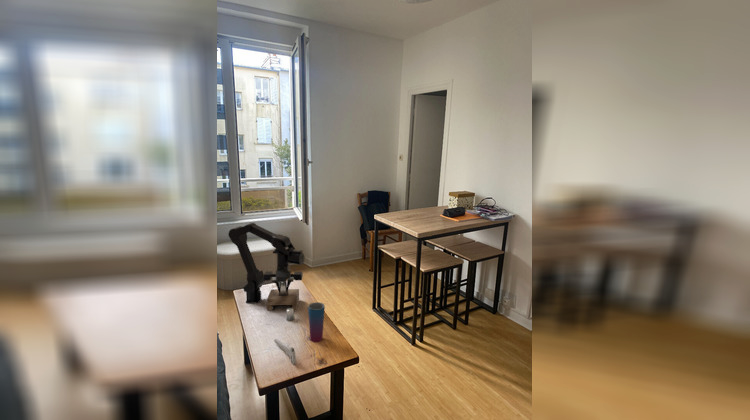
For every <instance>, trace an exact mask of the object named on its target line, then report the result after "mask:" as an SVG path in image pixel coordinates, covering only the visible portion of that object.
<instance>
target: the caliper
mask: <svg viewBox="0 0 750 420" xmlns="http://www.w3.org/2000/svg"><path fill="white" fill-rule="evenodd" d="M273 341H274V343H275V344H276V345H277V346H278V347H280V348H281V349H282V350H283V351H284V352H285V353H286V355H287V356H289V360H290V363H291V364H292V365H293V366H294V365H296V364H297V358H296V357H297V355H296V351H295V347H293V346H292V347H290V346H287V345H286V344H284V343H283V342H282V341H281V340H280V339H278V338H275V339H273Z"/></svg>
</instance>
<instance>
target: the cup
mask: <svg viewBox="0 0 750 420" xmlns="http://www.w3.org/2000/svg"><path fill="white" fill-rule="evenodd" d="M325 307H326V305H325V303H323V302H320V301H318V302H317V301H315V302H311V303H309V304H308V306H307V310H308V326H309V327H308V329H309V339H310V341H311V342H313V343H319V342H322V340H323V334H324V322H325V321H324V318H325Z"/></svg>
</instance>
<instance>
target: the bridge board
mask: <svg viewBox="0 0 750 420" xmlns="http://www.w3.org/2000/svg"><path fill="white" fill-rule="evenodd" d="M299 301H300V289H298V288H295V289H294V288H292V289H291V288H288V292H287V296H280V292H279V291H278V288H277V289H274V288H272V289H270V291H269V294H268V296H267V298H266V311H267V312H272V311H273V308H274V306H289V305H290V306H291V308H293V309H294V311H295V312H296V311H297V310H298V306H299Z"/></svg>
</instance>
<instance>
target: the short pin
mask: <svg viewBox="0 0 750 420" xmlns="http://www.w3.org/2000/svg"><path fill="white" fill-rule="evenodd" d="M285 312H286V321H287V322H293V321H294V317H295V316H294V315H295V314H294V313H295V312H294V309H293V308H292V307H288V308H286V311H285Z"/></svg>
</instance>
